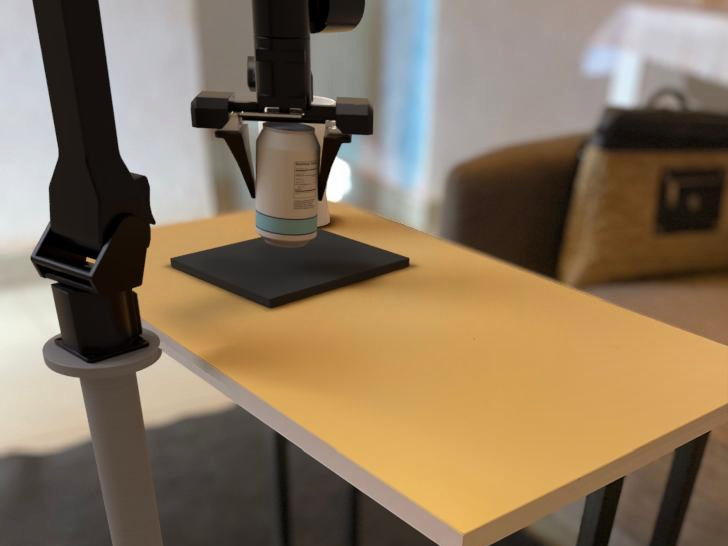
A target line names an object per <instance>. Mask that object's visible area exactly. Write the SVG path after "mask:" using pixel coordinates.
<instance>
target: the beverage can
mask: <svg viewBox="0 0 728 546" xmlns="http://www.w3.org/2000/svg"><path fill="white" fill-rule="evenodd" d="M320 152H321V147H320V144H319V142H318V139H317V137H316V135H315V128H314V127H312V126H309V125H306V124H301V123H286V122H264V123H263V128H262V130H261V132H260V134H259V133H258V136H257V138H256V140H255V181H256V198H255V209H254V210H255V213H254V214H255V219H254V220H255V225H254V226H255V227H254V228H255V233H256V234H258V235H259V237H263V238H264V240H265V241H266V242H267V243H269V244H271V245H274V246H279V247H287V248H295V247H302V246H305V245H306V244H307V243H308V242H309V241H310V240H312V239H314V238H315V237H316V235H317V228H318V227H317V217H318V183H319V174H320Z"/></svg>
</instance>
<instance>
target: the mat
mask: <svg viewBox="0 0 728 546" xmlns="http://www.w3.org/2000/svg"><path fill="white" fill-rule="evenodd" d="M410 258H411V257H408V256H405V255H403V254H399V253H396V252H392V251H390V250H387V249H383V248H381V247H377V246H375V245H371V244H368V243H365V242H362V241H359V240H356V239H353V238H350V237H346V236H344V235H340V234H337V233H334V232H331V231H329V230H325V229H322V228H319V227H317V235H316V237H315V238H314V239H312V240H310V241H309V242H308V243H307V244H306V245H305V246H302V247H295V248H287V247H279V246H274V245H271V244H269V243H267V242H266V241H265V240H264V238H263V237H261V236H259V237H255V238H251V239H247V240H242V241H237V242H233V243H229V244H224V245H221V246H220V245H219V246H217V247H213V248H212V247H211V248H208V249H203V250H199V251H195V252H194V251H193V252H191V253H187V254H182V255H177V256H174V257H170V258H169V261H170V267H172V268H174V269H176V270H179V271H181V272H183V273H186V274H188V275H190V276H193V277H195V278H198V279H200V280H203V281H205V282H207V283H210V284H212V285H215V286H217V287H219V288H221V289H224V290H226V291H229V292H231V293H234V294H235V295H238V296H241V297H243V298H246V299H248V300H249V301H253V302H255V303H257V304H259V305H261V306H265V307H267V308H268V309H269V308H270V309H271V308H274V307H278V306H282V305H284V304H287V303H290V302H295V301H298V300H300V299H304V298H307V297H311V296H314V295H318V294H321V293H324V292H327V291H331V290H333V289H337V288H341V287H344V286H348V285H350V284H354V283H357V282H361V281H364V280H367V279H371V278H373V277H376V276H380V275H384V274H387V273H391V272H394V271H396V270H401V269H403V268H407V267H409V266H410Z"/></svg>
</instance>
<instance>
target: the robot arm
mask: <svg viewBox="0 0 728 546" xmlns="http://www.w3.org/2000/svg"><path fill="white" fill-rule="evenodd" d="M31 1H32V7H33V13H34V18H35V19H34V20H35V24H36V31H37V35H38V41H39V48H40V52H41V58H42V64H43V70H44V75H45V81H46V82H45V83H46V87H47V94H48V99H49V104H50V110H51V115H52V121H53V127H54V133H55V138H56V145H57V153H58V156H57V159H56V163H55V166H54V169H53V172H52V175H51V178H50V181H49V184H48V207H49V209H48V210H49V221H48V223H47V225H46V227H45V229H44V231H43V232H42V234H41V236H40V237H39V240H38V242H37V243H36V246H35V247H34V249H33V251H32V253H31V255H30V262H31V264H32V265H33V267H34V268H35V270H36V272H37V274H38V275H39V277H40V278H41V279H48V280H51V281H53V283H51V284H50V288H51V293H52V297H53V302H54V307H55V312H56V316H57V322H58V326H59V331H60V332H59V333H61V336H62V337H59V338H56V339H54V342H55V345H57V346H58V347H60V348H62V349H64V350H65V351H67V352H69V353H71V354H72V355H74V356H76V357H77V358H79V359H81V360H83V361H84V362H86V363H89V364H92V363H96V362H100V361H103V360H106V359H110V358H113V357H116V356H119V355H123V354H126V353H129V352H133V351H136V350H139V349H142V348H146V347H148V346H149V341H148V340H147V339H145V338H143V337H141V336H139V335H142V332H143V330H142V328H143V323H142V316H141V310H140V304H139V303H140V302H139V296H138V293H137V292H136V291H134V290H133V289H136V288H138V287H142V285H143V281H144V275H145V274H144V273H145V267H146V259H147V252H148V248H150V245H151V241H152V227H151V225H153V226H155V225H156V224H157V222H156V219H155V216H154V214H153V212H152V211H153V210H152V207H151V185H150V182H149V178H148V177H147V175H143V174H139V173H135V172H131V171H130V169H129V168H128V166H127V164H126V162H125V161H124V159H123V158H122V155H121V151H120V146H119V138H118V132H117V123H116V117H115V116H116V115H115V110H114V102H113V101H114V100H113V94H112V89H111V80H110V73H109V66H108V59H107V51H106V44H105V36H104V29H103V23H102V21H103V20H102V16H101V7H100V0H31ZM250 1H251V19H252V20H251V21H252V38H253V55H248V56H247V59H246V83H247V88H248V90H249V92H251V93H255V97H256V98H255V99H256V101H251V100H250V101H249V100H245V101H244V100H236V96H235V92H234V91H218V90H217V91H216V90H215V91H214V90H212V91H211V90H202V91H200V92H199V93H198V94H197V95H196V96H195V97H194V98H193V99H192V100H191V102H190V118H191V119H190V120H191V127H192V128H195V129H210V130H214V132H213V134H214V135H213V136H214V138H216V139H223V140H224V142H225V144H226V146H227V147H228V149H229V151H230V153H231V154H232V156H233V158H234V160H235V162H236V164H237V166H238V168H239V171H240V174H241V175H242V178H243V181H244V183H245V185H246V188H247V190H248V192H249V195H250V197H251V199H253V200H256V174H255V168H254V162H253V157H252V150H251V143H250V131H249V124H248V123H245V122H258V121H263V122H286V123H309V124H325V133H324V138H323V147H322V156H321V165H320V174H319V183H318V201H322V199H323V195H324V192H325V188H326V185H327V186H328V180H329V178H330V174H331V171H332V169H333V165H334V163H335V161H336V158H337V156H338V153H339V151H340V149H341V147H342V145H343V144H351V143H352V141H353V139H352V138H353V136H357V135H358V136H372V135H374V104H373V102H372V101H371V100H370V99H369V98H368V97H352V96H351V97H347V96H336V99H335V102H336V105H317V104H312V102H313V96H314V74H313V72H312V54H311V51H312V48H311V45H312V44H311V35H316V34H332V33H347V32H351V31H353V30H354V29H356V28H357V27H358V26H359V25H360V23H361V22H362V19H363V17H364V14H365V8H366V0H250ZM266 107H268V108H267V109H266V110H267V112H265V108H266ZM290 108H291V109H290ZM302 114H304V115H302ZM87 259H91V260H94V262H91V261H89V260H87Z"/></svg>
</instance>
